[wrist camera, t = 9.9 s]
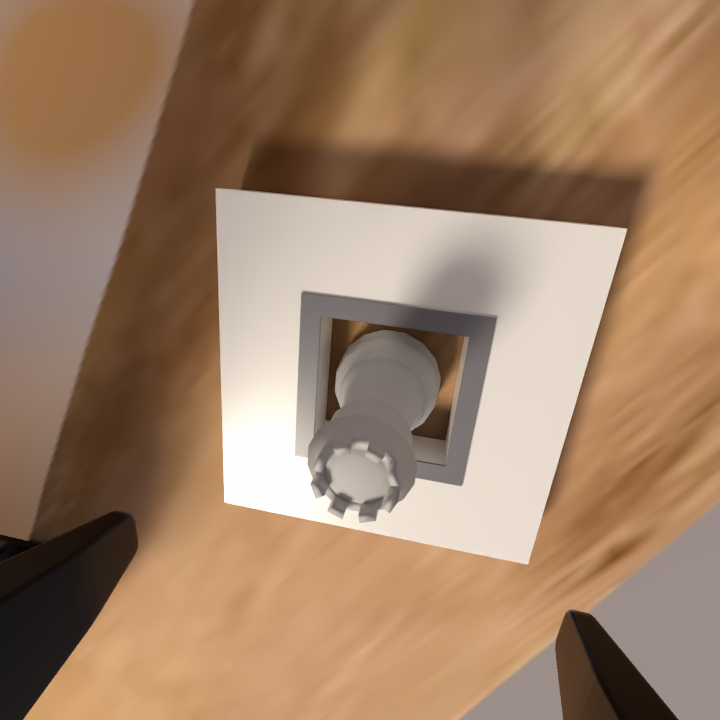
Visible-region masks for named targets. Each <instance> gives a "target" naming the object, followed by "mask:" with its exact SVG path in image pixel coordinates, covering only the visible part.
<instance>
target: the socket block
mask: <svg viewBox="0 0 720 720" xmlns="http://www.w3.org/2000/svg"><path fill="white" fill-rule="evenodd" d="M216 222H217V257H218V291H219V326H220V361H221V396H222V430H223V465H224V500H225V503H230V504H235V505H240V506H244V507H249V508H254V509H259V510H264V511H269V512H274V513H279V514H283V515H288V516H293V517H298V518H303V519H308V520H313V521H318V522H322V523H327V524H332V525H337V526H342V527H347V528H352V529H357V530H361V531H366V532H371V533H376V534H381V535H386V536H391V537H396V538H400V539H405V540H410V541H415V542H420V543H425V544H430V545H435V546H439V547H444V548H449V549H454V550H459V551H464V552H469V553H474V554H478V555H483V556H488V557H493V558H498V559H503V560H508V561H513V562H518V563H522V564H527V565H528V562H529V559H530V555H531V552H532V549H533V545H534V542H535V538H536V535H537V532H538V528H539V525H540V522H541V518H542V515H543V512H544V508H545V505H546V501H547V498H548V495H549V491H550V488H551V485H552V481H553V478H554V475H555V471H556V468H557V464H558V461H559V458H560V454H561V451H562V448H563V444H564V441H565V437H566V434H567V431H568V427H569V424H570V421H571V417H572V414H573V411H574V407H575V404H576V400H577V397H578V394H579V390H580V387H581V384H582V380H583V377H584V374H585V370H586V367H587V363H588V360H589V357H590V353H591V350H592V347H593V343H594V340H595V336H596V333H597V330H598V326H599V323H600V320H601V316H602V313H603V310H604V306H605V303H606V299H607V296H608V293H609V289H610V286H611V283H612V279H613V276H614V273H615V269H616V266H617V262H618V259H619V256H620V252H621V249H622V246H623V242H624V239H625V235H626V232H627V229H626V228H619V227H613V226H607V225H598V224H588V223H577V222H567V221H557V220H547V219H537V218H526V217H516V216H506V215H496V214H486V213H475V212H465V211H455V210H445V209H435V208H424V207H414V206H404V205H394V204H384V203H373V202H363V201H353V200H343V199H333V198H322V197H312V196H302V195H292V194H282V193H271V192H261V191H251V190H241V189H221V188H216ZM333 318H336V319H343V320H351V321H358V322H365V323H373V324H380V325H387V326H394V327H402V328H409V329H416V330H424V331H431V332H438V333H445V334H453V335H460V336H464V342H463V347H462V353H461V358H460V364H459V369H458V375H457V380H456V385H455V391H454V396H453V402H452V407H451V413H450V418H449V424H448V429H447V435H446V440H440V439H434V438H428V437H422V436H416V435H412V437H413V443H412V450H413V453H414V456H415V459H416V463H417V472H416V478H415V484H414V486H413V487H412V488H411V490H410V491H409V493H408V494H407V495H406V497H405V498H404V499H403V500H402V501H400V502H398V503H397V504H396V506H395V507H394V508H393V510H392V511H391V512H390V513H389V512H387V511H386V510H385V509H382V510H378V514H377V519H376V521H372V522H364V523H359V516H358V514H359V512H358V511H353V510H348V509H346V511H345V514H344V516H343V519H340V518H339V517H337V516H335V515H333V514H331V513H330V512H328V511H327V510H328V508H329V505H330V502H331V500H330V499H329V498H328V497H327V496H326V495H325V496H322V497H319V498H317V499H316V498H315V495H314V492H313V490H312V487H311V485H310V484H311V481H312V479H313V478H312V475H311V472H310V470H309V467H308V465H307V463H308V446H309V444H310V442H311V441H312V439H313V437H314V435H315V434H316V432H317V430H318V429H320V428H321V427H323V426H324V425H325V424H327V423H328V422H330V421H329V420H326V410H327V395H328V380H329V366H330V351H331V336H332V321H333Z"/></svg>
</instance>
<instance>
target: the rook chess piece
mask: <svg viewBox="0 0 720 720" xmlns="http://www.w3.org/2000/svg"><path fill="white" fill-rule="evenodd" d="M440 381H441V377H440V373H439V369H438V365H437V361H436V359H435V358H434V356H433V355H432V354H431V352H430V351H429V350H428V349H427V347H426V346H425V345H424V344H423V343H422V342H420V341H418V340H417V339H415V338H413V337H411V336H410V335H408V334H406V333H403V332H396V331H389V330H381V331H377V332H373V333H369V334H365V335H363V336H362V337H360V338H359V339H358V340H356V341H355V342H354V343H352V344H351V345H350V346H348V348H347V350H346V352H345V354H344V355H343V357H342V359H341V361H340V363H339V367H338V368H337V370H336V381H335V394H336V396H337V399H338V402H339V405H340V409H339V410H337V411H336V412H335V414H334V415H333V417H332V419H331V421H330V422H328V423H327V424H325V425H324V426H323V427H321V428H320V429H318V430H317V432H316V434H315V435H314V437H313V439H312V441H311V442H310V444H309V446H308V463H307V465H308V467H309V470H310V472H311V475H312V478H313V479H312V481H311V484H310V485H311V487H312V490H313V492H314V495H315V498H316V499H317V498H319V497H322V496H325V495H326V496H327V497H328V498H329V499H330V500H331V502H330V505H329V508H328V510H327V511H328V512H330V513H331V514H333V515H335V516H337V517H339V518H340V519H343V516H344V514H345V511H346V509H348V510H353V511H358V512H359V514H358V516H359V523H364V522H372V521H376V519H377V514H378V510H382V509H385V510H386V511H387V512H389V513H390V512H391V511H392V510H393V508H394V507H395V506H396V504H397V503H398V502H400V501H402V500H403V499H404V498H405V497H406V495H407V494H408V493H409V491H410V490H411V488H412V487H413V486H414V484H415V478H416V472H417V463H416V459H415V456H414V453H413V450H412V443H413V437H412V434H411V431H412V430H413V429H415V428H416V427H418V426H420V425H421V424H423V423H424V422H425V420H426V419H427V417H428V416H429V414H430V413H431V412H432V410H433V409H434V407H435V406H436V401H437V397H438V393H439V387H440Z"/></svg>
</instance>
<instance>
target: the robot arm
mask: <svg viewBox="0 0 720 720" xmlns="http://www.w3.org/2000/svg"><path fill="white" fill-rule="evenodd" d="M137 548H138V536H137V528H136V520H135V517H134V516H133V514H130V513H126V512H121V511H113V512H110V513H108V514H106V515H104V516H101V517H99V518H97V519H95V520H93V521H90V522H88V523H86V524H84V525H82V526H79V527H77V528H75V529H73V530H71V531H69V532H66V533H64V534H62V535H60V536H58V537H55V538H53V539H51V540H49V541H47V542H44V543H42V544H38V543H34V542H29V541H25V540H21V539H17V538H12V537H8V536H4V535H0V720H23V719H24V718H25V716H26V715H27V713H28V712H29V711H30V709H31V708H32V707H33V705H34V704H35V703H36V701H37V700H38V698H39V697H40V696H41V694H42V693H43V692H44V690H45V689H46V687H47V686H48V685H49V683H50V682H51V681H52V679H53V678H54V677H55V675H56V674H57V672H58V671H59V670H60V668H61V667H62V666H63V664H64V663H65V661H66V660H67V659H68V657H69V656H70V655H71V653H72V652H73V651H74V649H75V648H76V646H77V645H78V644H79V642H80V641H81V640H82V638H83V637H84V635H85V634H86V633H87V631H88V630H89V628H90V627H91V626H92V624H93V623H94V621H95V619H96V618H97V616H98V615H99V613H100V612H101V610H102V608H103V607H104V605H105V603H106V602H107V600H108V598H109V597H110V595H111V593H112V592H113V590H114V589H115V587H116V585H117V584H118V582H119V580H120V579H121V577H122V575H123V574H124V572H125V570H126V569H127V567H128V565H129V564H130V562H131V560H132V559H133V557H134V555H135V553H136V551H137ZM555 647H556V648H555V651H556V661H557V669H558V678H559V687H560V696H561V705H562V713H563V720H678V718H677V717H676V716H675V715H674V714H673V712H672V711H671V710H670V709H669V707H668V706H667V705H666V704H665V703H664V701H663V700H662V699H661V698H660V696H659V695H658V694H657V693H656V692H655V690H654V689H653V688H652V687H651V686H650V684H649V683H648V682H647V681H646V679H645V678H644V677H643V676H642V675H641V673H640V672H639V671H638V670H637V669H636V667H635V666H634V665H633V664H632V662H631V661H630V660H629V659H628V658H627V657H626V655H625V654H624V653H623V651H622V650H621V649H620V648H619V647H618V645H617V644H616V643H615V642H614V640H613V639H612V638H611V637H610V636H609V635H608V633H607V632H606V631H605V630H604V628H603V627H602V626H601V625H600V624H599V622H598V621H597V620H596V619H595V618H594V617H593V616H592V615H591V614H589V613H585V612H580V611H576V610H568V611H567V612H566V614H565V616H564V619H563V622H562V624H561V627H560V630H559V633H558V636H557V639H556V646H555Z"/></svg>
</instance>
